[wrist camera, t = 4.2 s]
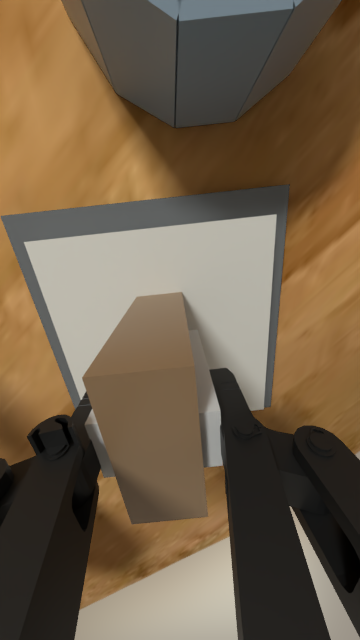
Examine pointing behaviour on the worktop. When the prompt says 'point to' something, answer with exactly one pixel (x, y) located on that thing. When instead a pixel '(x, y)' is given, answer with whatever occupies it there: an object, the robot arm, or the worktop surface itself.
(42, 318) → the mat
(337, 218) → the worktop surface
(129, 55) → the bowl
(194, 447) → the lid
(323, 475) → the robot arm
